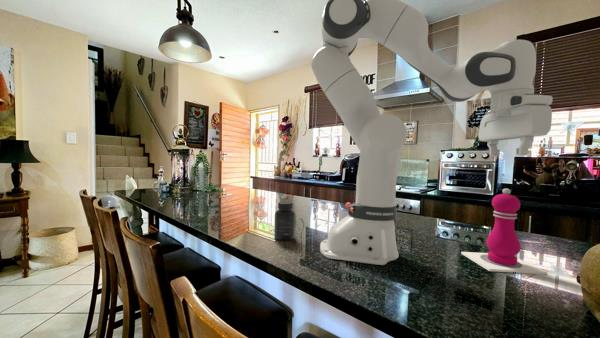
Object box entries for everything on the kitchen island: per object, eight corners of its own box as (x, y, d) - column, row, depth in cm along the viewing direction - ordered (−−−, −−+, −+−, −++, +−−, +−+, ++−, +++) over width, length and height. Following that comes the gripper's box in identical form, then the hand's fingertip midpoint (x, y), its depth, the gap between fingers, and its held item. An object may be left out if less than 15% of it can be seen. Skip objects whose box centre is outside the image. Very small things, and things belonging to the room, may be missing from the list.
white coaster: (489, 271, 63) (489, 268, 63) (461, 253, 75) (461, 251, 75) (547, 274, 63) (547, 271, 63) (509, 256, 75) (509, 253, 75)
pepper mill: (526, 268, 64) (531, 190, 64) (494, 265, 66) (499, 188, 65) (509, 257, 71) (513, 187, 71) (480, 255, 73) (484, 186, 72)
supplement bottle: (273, 235, 87) (274, 200, 86) (292, 234, 88) (294, 200, 88) (274, 241, 80) (276, 204, 80) (296, 241, 81) (297, 204, 81)
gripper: (474, 111, 78) (470, 156, 79) (531, 94, 58) (526, 154, 58) (495, 112, 78) (491, 157, 78) (560, 95, 57) (555, 155, 58)
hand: (507, 155), depth 68 cm, fingers open, 8 cm apart
